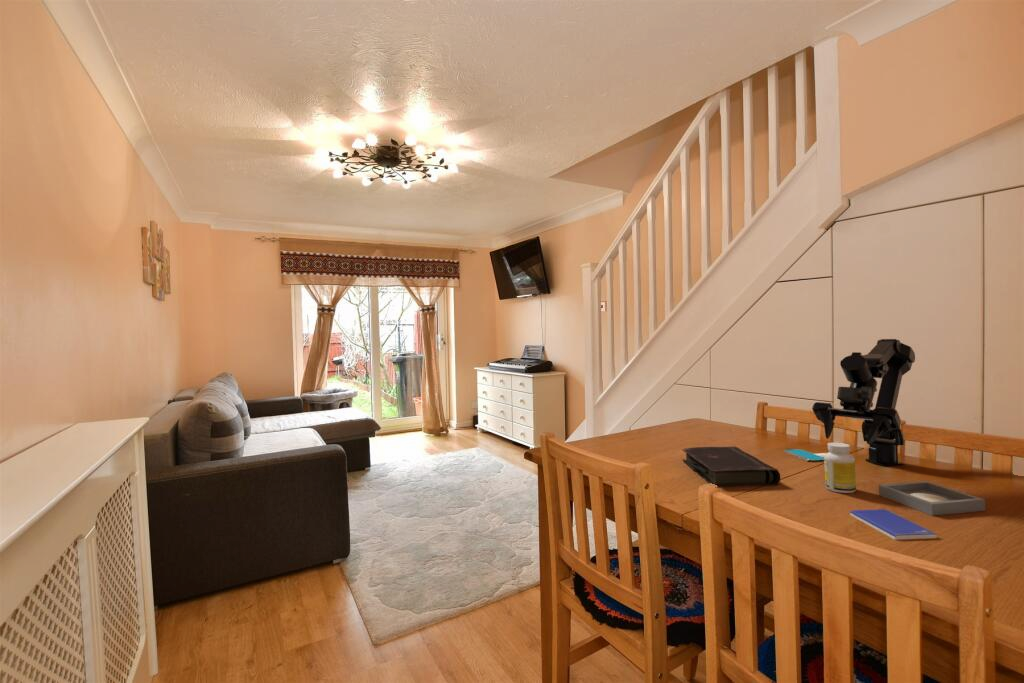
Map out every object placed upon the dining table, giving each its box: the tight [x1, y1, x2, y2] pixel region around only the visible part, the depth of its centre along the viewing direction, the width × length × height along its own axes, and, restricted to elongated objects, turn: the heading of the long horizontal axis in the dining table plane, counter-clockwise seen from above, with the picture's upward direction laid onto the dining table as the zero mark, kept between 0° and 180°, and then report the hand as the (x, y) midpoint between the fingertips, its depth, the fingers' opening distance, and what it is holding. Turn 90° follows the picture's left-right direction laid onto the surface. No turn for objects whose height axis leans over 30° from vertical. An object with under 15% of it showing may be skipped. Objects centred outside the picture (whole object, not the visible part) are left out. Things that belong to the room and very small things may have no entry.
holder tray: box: [878, 480, 986, 517], centre depth 108 cm, size 13×13×2 cm
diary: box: [681, 446, 781, 488], centre depth 137 cm, size 19×25×5 cm
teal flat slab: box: [783, 447, 827, 463], centre depth 149 cm, size 20×12×2 cm, turn 5°
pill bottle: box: [823, 442, 857, 494], centre depth 119 cm, size 6×6×12 cm
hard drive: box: [849, 508, 938, 541], centre depth 97 cm, size 2×8×12 cm
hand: (846, 440), depth 122 cm, fingers open, 9 cm apart
